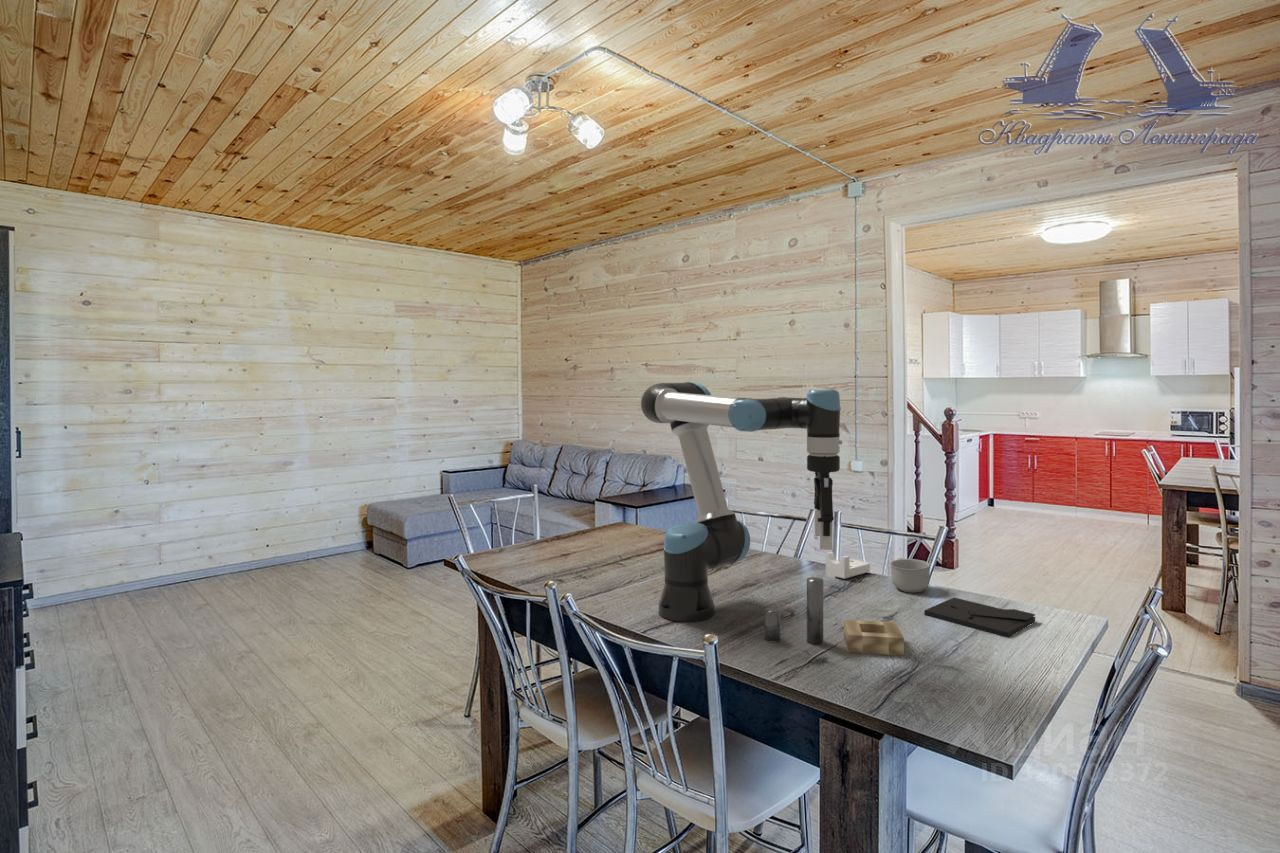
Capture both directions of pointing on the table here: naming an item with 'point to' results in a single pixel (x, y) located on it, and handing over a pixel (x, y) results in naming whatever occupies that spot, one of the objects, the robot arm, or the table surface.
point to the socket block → (873, 637)
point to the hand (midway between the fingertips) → (823, 542)
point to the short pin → (772, 624)
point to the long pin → (815, 610)
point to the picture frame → (981, 616)
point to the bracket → (844, 566)
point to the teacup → (910, 574)
